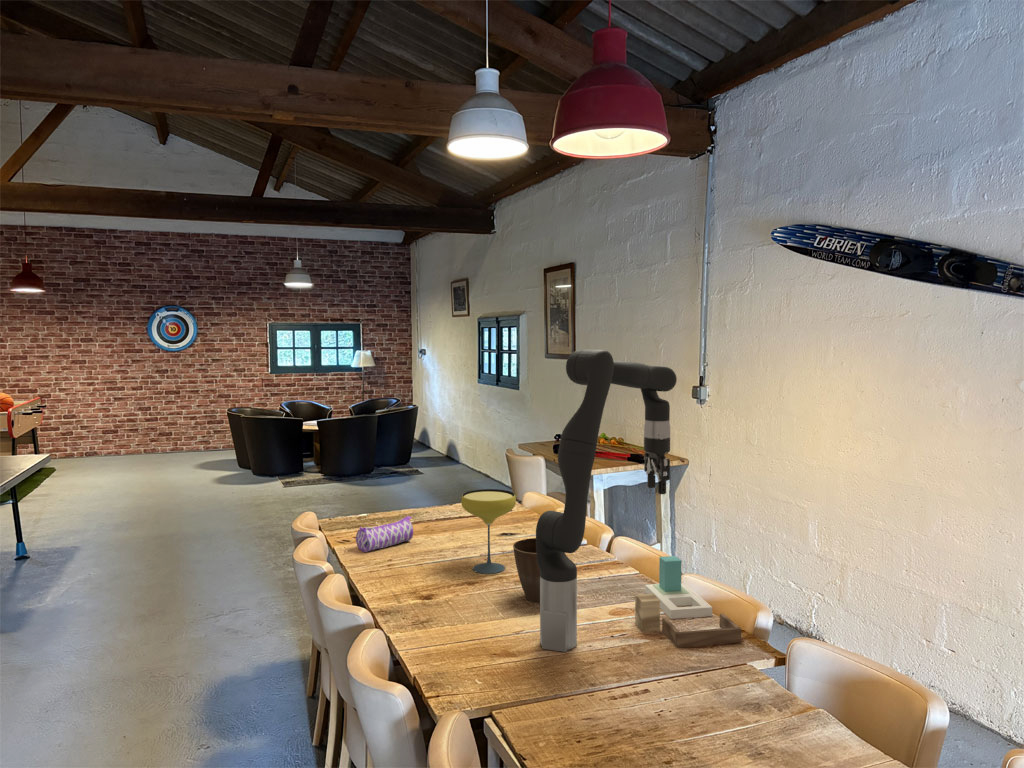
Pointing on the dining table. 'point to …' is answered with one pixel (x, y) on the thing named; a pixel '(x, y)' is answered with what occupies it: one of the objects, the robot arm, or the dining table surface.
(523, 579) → the plant pot
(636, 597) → the beech block
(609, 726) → the dining table surface
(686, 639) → the walnut tray
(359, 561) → the dining table surface
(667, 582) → the teal block
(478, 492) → the cocktail glass
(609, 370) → the robot arm
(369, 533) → the pencil case
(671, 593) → the cream hole board
